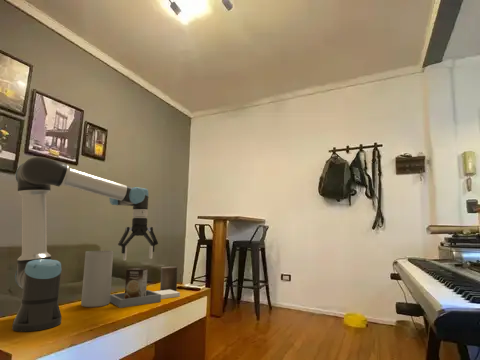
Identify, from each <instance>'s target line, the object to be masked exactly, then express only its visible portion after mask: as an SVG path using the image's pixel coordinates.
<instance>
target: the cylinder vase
mask: <svg viewBox="0 0 480 360" xmlns="http://www.w3.org/2000/svg"><path fill="white" fill-rule="evenodd" d="M113 260H114V251H113V250H89V251H88V250H87V251H85V255H84V267H83V280H82V291H81V300H80V301H81V303H80V305H81V307H83V308H100V307H104V306H107V305H109V304H110V303H111V302H110V294H111V289H112V276H113V275H112V274H113V264H114V263H113V262H114V261H113Z"/></svg>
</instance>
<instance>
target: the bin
mask: <svg viewBox="0 0 480 360" xmlns="http://www.w3.org/2000/svg"><path fill="white" fill-rule="evenodd" d="M124 296H125V292H121V293H113V294H111V293H110V302H109V303H110V304H113V306H116V307H118V308H120V309H121V308H128V307H134V306H140V305H141V306H142V305H148V304H155V303H161V300H162V299H161V294H158V293H155V292H153V290H149V289H148V290H147V289H146V296H142V297H135V298H127V299H124Z"/></svg>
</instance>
